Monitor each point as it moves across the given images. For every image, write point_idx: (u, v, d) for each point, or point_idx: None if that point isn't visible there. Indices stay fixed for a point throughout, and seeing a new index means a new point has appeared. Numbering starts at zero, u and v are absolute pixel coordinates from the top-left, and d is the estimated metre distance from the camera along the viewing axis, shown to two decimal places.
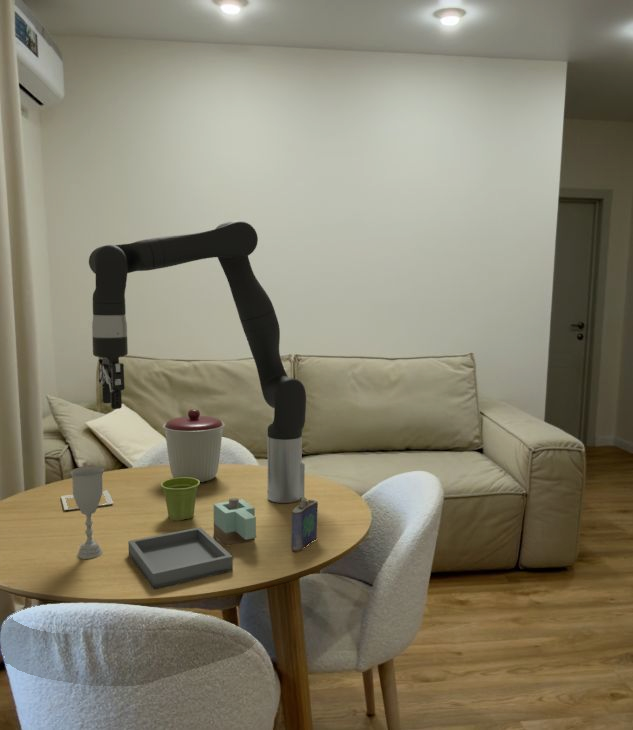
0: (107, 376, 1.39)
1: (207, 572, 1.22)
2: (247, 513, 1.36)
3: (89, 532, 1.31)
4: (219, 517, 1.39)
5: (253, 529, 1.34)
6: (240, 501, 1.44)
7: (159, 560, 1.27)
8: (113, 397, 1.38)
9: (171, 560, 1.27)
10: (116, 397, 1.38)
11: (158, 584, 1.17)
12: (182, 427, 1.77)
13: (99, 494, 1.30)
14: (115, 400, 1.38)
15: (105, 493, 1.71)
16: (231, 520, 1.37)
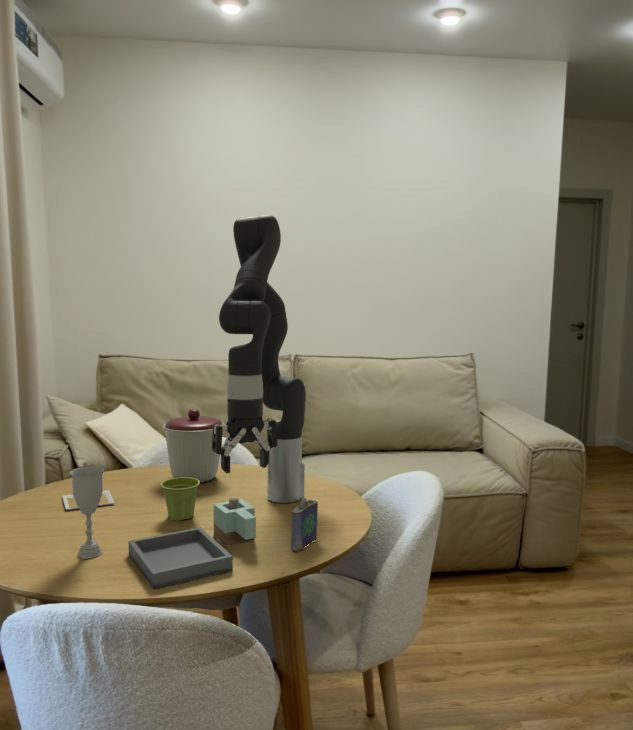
0: None
1: (207, 572, 1.22)
2: (247, 513, 1.36)
3: (89, 532, 1.31)
4: (219, 517, 1.39)
5: (253, 529, 1.34)
6: (240, 501, 1.44)
7: (159, 560, 1.27)
8: (267, 455, 1.36)
9: (171, 560, 1.27)
10: None
11: (158, 584, 1.17)
12: (182, 427, 1.77)
13: (99, 494, 1.30)
14: None
15: (106, 493, 1.71)
16: (231, 520, 1.37)
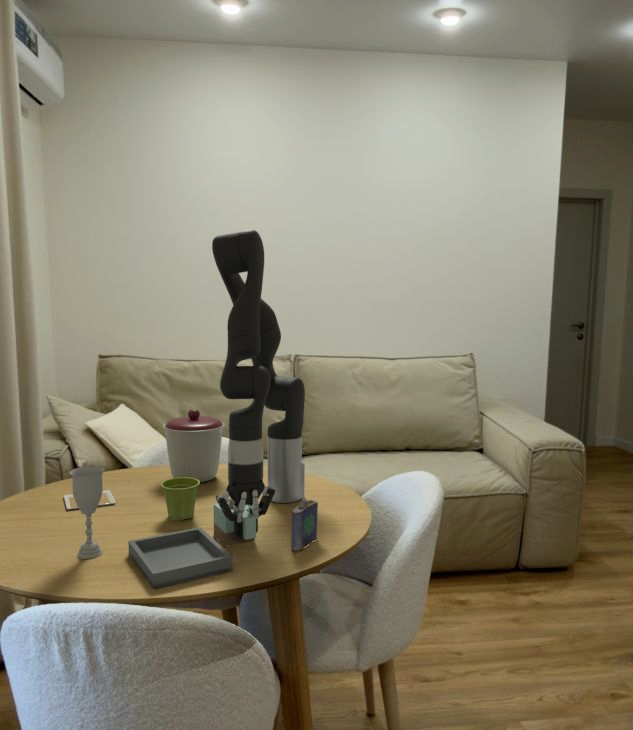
0: (257, 502, 1.35)
1: (207, 572, 1.22)
2: (247, 513, 1.36)
3: (89, 532, 1.31)
4: (219, 517, 1.39)
5: (253, 529, 1.34)
6: None
7: (159, 560, 1.27)
8: (256, 523, 1.36)
9: (171, 560, 1.27)
10: None
11: (158, 584, 1.17)
12: (182, 427, 1.77)
13: (99, 494, 1.30)
14: None
15: (107, 492, 1.71)
16: None
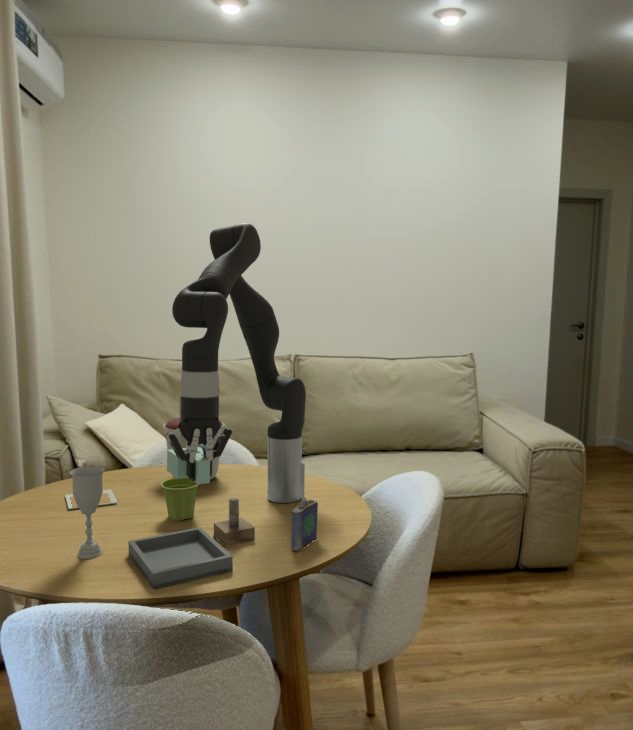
0: None
1: (207, 572, 1.22)
2: (201, 457, 1.25)
3: (89, 532, 1.31)
4: (172, 463, 1.28)
5: (207, 473, 1.23)
6: None
7: (159, 560, 1.27)
8: (210, 465, 1.25)
9: (171, 560, 1.27)
10: None
11: (158, 584, 1.17)
12: None
13: (99, 494, 1.30)
14: None
15: (109, 492, 1.72)
16: (184, 465, 1.26)
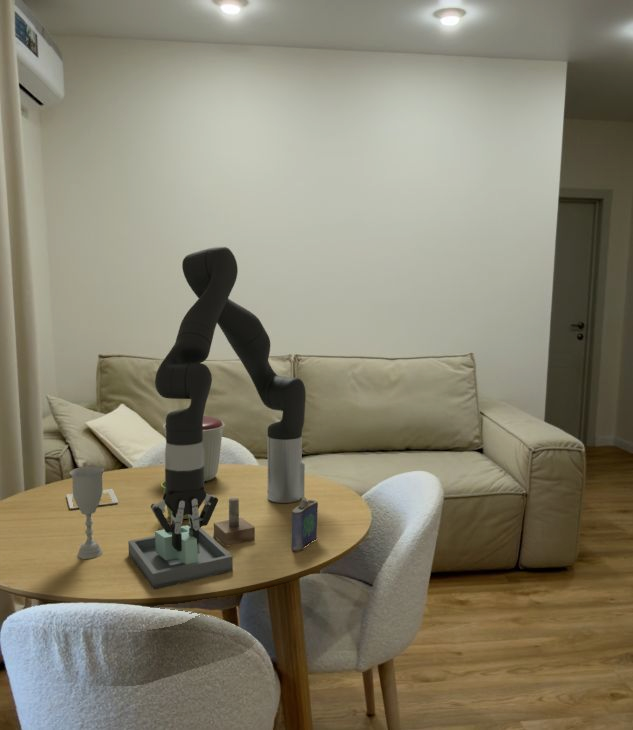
0: None
1: (207, 572, 1.22)
2: (188, 536, 1.24)
3: (89, 532, 1.31)
4: (160, 544, 1.27)
5: (194, 552, 1.21)
6: (184, 527, 1.32)
7: (159, 560, 1.27)
8: (197, 534, 1.24)
9: (171, 560, 1.27)
10: None
11: (158, 584, 1.17)
12: None
13: (99, 494, 1.30)
14: None
15: (110, 492, 1.72)
16: None
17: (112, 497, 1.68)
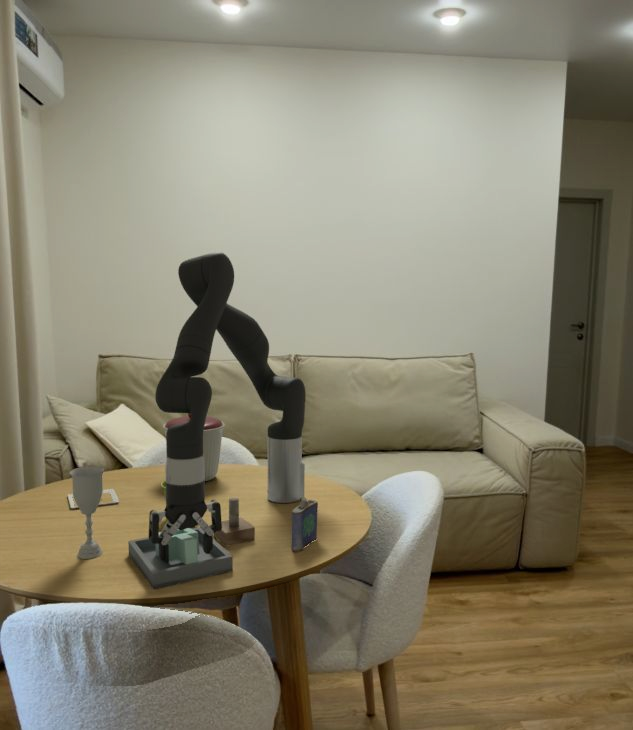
0: (204, 521, 1.24)
1: (207, 572, 1.22)
2: (188, 536, 1.24)
3: (89, 532, 1.31)
4: None
5: (194, 552, 1.21)
6: None
7: (159, 560, 1.27)
8: (211, 540, 1.26)
9: (171, 560, 1.27)
10: None
11: (158, 584, 1.17)
12: None
13: (99, 494, 1.30)
14: None
15: (111, 492, 1.72)
16: (172, 546, 1.25)
17: (113, 497, 1.68)
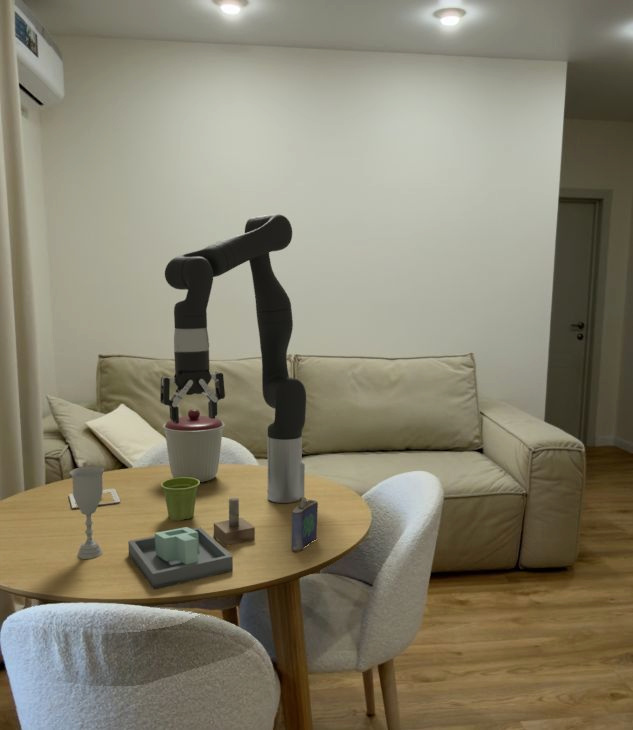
0: (209, 388, 1.39)
1: (207, 572, 1.22)
2: (188, 536, 1.24)
3: (89, 532, 1.31)
4: (160, 546, 1.27)
5: (194, 552, 1.21)
6: (184, 528, 1.32)
7: (159, 560, 1.27)
8: (215, 406, 1.41)
9: (171, 560, 1.27)
10: None
11: (158, 584, 1.17)
12: (182, 427, 1.77)
13: (99, 494, 1.30)
14: None
15: (112, 491, 1.72)
16: (172, 546, 1.25)
17: (114, 496, 1.68)
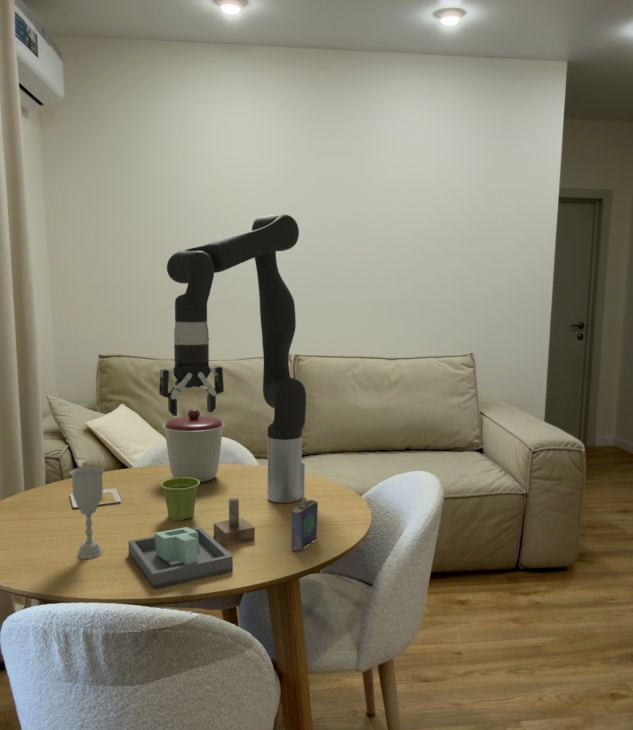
0: None
1: (207, 572, 1.22)
2: (188, 536, 1.24)
3: (89, 532, 1.31)
4: (160, 546, 1.27)
5: (194, 552, 1.21)
6: (184, 528, 1.32)
7: (159, 560, 1.27)
8: (214, 400, 1.42)
9: (171, 560, 1.27)
10: None
11: (158, 584, 1.17)
12: (182, 427, 1.77)
13: (99, 494, 1.30)
14: None
15: (113, 491, 1.73)
16: (172, 546, 1.25)
17: (115, 496, 1.68)
